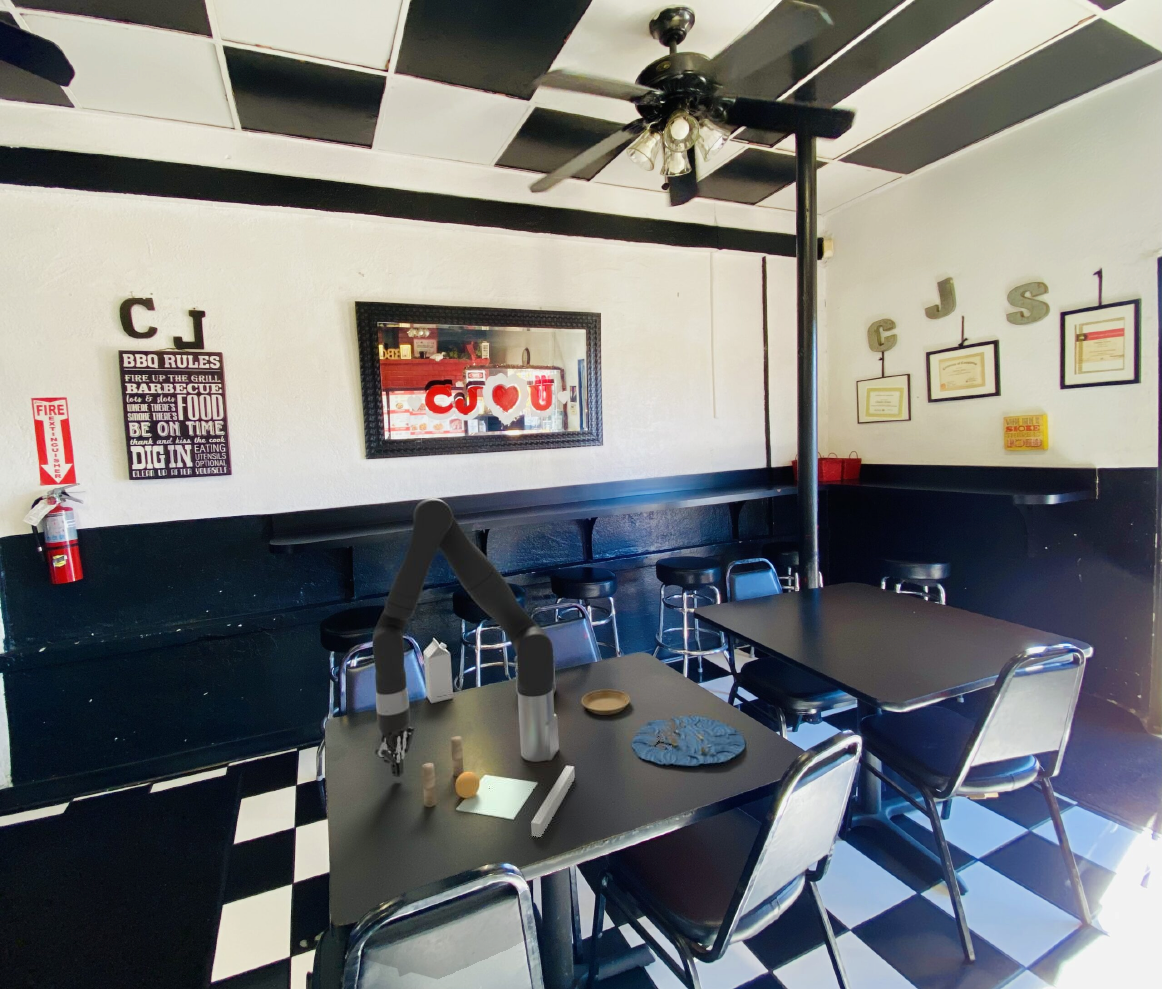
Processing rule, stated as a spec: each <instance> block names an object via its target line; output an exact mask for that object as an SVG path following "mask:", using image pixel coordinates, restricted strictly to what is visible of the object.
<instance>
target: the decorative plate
mask: <svg viewBox="0 0 1162 989" xmlns="http://www.w3.org/2000/svg"><path fill="white" fill-rule="evenodd" d="M670 719H671V720H673V721H674V724H676V726H678V727H679V728H678V727H677V728H678V729H675V730H674V731H675V732H673V731H672V732H668V735H667V736H668V738H669V741H666V742H665V743H662V744H661V745H662V746H663V747H666V748H667V749H666V750H661V749H659V748H658V747H657V748H656V747H653V745H654V744H655V743H654V744H653V742H651V741H649V740H652V741H653V740H655V741H657V740H656V739H661V737H660V738H659V737H657V736H656V737H657V738H656V737H654V736H650V735H645V734H651V735H654V734H655V735H657V734H661V733H662V730H661V729H665V730H666V731H668V730H667V728H668V729H671V727H670V726H669V727H668V726H666V725H665V726H664V724H668V725H670V724H672V723H671V722H670V721H667V720H664V719H658V718H657V719H654V720H652V721H648V722H647V723H646V724H644V725H643V727H642V728H640V729H638V731H637V732H636V735H637V734H640V735H637V736H635V737H634V738H633V740H632V744H631V746H632V748H633V750H634V751H635V754H636V755H637V757H638V758H641V760H643V759H644V760H646V761H651V762H654V763H657V764H659V765H664V764H665V765H666V766H669V765H671V764H673V765H674V766H675V765H676V766H682V767H688V766H691V767H694V766H695V767H697V766H699V765H701V764H704V765H705V764H715V763H722V762H723V763H724V762H725V763H726V762H727V761H730V760H731V758H734V757H735V756H737V755H739V754H740V753H741V752H742V751H743V750H744V748H746V744H745V739H744V736H743V734H742V733H741V732H739V731H737V730H736V729H735V728H734V727H732V726H729V725H728V724H725V723H724V722H723V723H722V722H720V721H719V720H715V719H711V718H708V717H701V716H698V715H689V716H687V715H686V716H685V715H684V716H682V715H680V716H679V717H677V718H676V717H673V716H671V717H670ZM679 719H680V720H679ZM666 722H667V723H666ZM661 724H663V725H661ZM674 724H673V725H674ZM677 724H678V725H677ZM680 724H683V725H682V726H683V727H682V726H681V725H680ZM679 725H680V726H681V727H680V726H679ZM650 731H652V732H650ZM660 731H661V733H660ZM638 732H639V733H638ZM674 733H675V734H676V733H677V734H679V737H680V738H679V737H675V734H674ZM641 734H644V735H641ZM661 735H662V736H663V739H664V741H665V739H666V738H667V737H666V736H664V735H663V733H662V734H661ZM645 739H646V740H645ZM657 742H658V741H657ZM667 742H668V743H667ZM658 743H659V742H658ZM666 743H667V745H666ZM647 744H649V745H647ZM669 744H671V745H672V746H671V747H670V746H668V745H669ZM651 746H652V747H651Z"/></svg>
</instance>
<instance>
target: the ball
mask: <svg viewBox="0 0 1162 989" xmlns="http://www.w3.org/2000/svg"><path fill="white" fill-rule="evenodd" d="M479 781H480V780H479V777H478V776H477V774H476V773H475V772H472V771H464V773H462V774H461V775H460V776H457V778H456V781H455V785H454V786H455V791H456V794H457V795H458V796H460V797H461V798H464V799H465V798H470V797H472V796H474V795H475V794H476V793H477V791H478V789H479V785H480V783H479Z"/></svg>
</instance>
